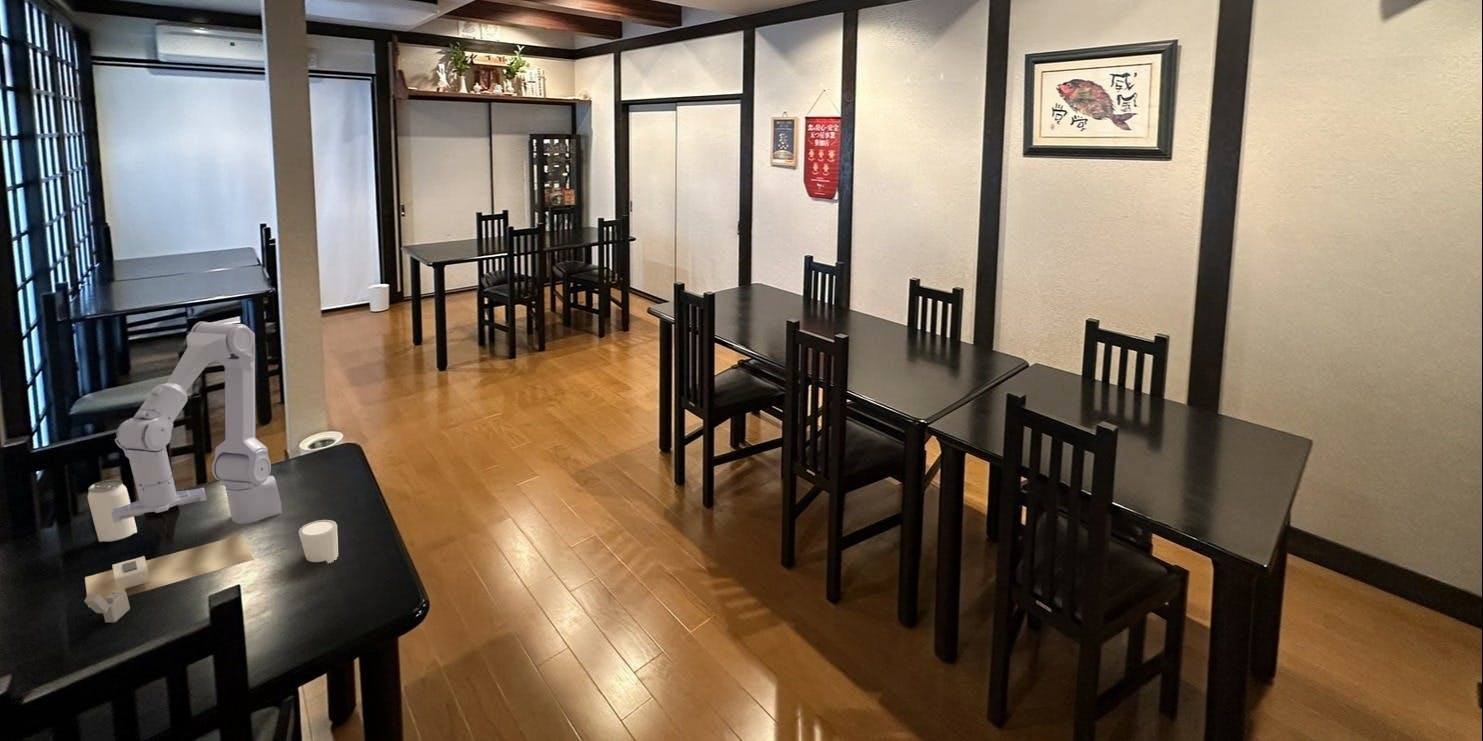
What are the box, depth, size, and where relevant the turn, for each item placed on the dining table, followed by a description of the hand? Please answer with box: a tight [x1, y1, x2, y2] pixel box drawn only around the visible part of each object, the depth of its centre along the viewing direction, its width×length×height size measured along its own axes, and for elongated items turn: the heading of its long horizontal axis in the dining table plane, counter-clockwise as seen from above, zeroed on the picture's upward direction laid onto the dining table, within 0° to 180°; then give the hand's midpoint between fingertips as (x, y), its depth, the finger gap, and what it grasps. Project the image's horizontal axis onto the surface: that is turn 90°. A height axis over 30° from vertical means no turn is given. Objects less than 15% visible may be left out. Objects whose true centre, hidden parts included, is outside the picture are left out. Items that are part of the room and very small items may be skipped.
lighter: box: [83, 591, 131, 623], centre depth 140 cm, size 7×2×8 cm, turn 3°
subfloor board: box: [84, 534, 255, 608], centre depth 157 cm, size 26×12×1 cm, turn 130°
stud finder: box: [111, 555, 150, 591], centre depth 152 cm, size 5×6×3 cm
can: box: [87, 479, 138, 543], centre depth 167 cm, size 6×6×12 cm
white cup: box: [298, 519, 339, 565], centre depth 162 cm, size 7×7×7 cm
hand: (169, 542), depth 155 cm, fingers closed
